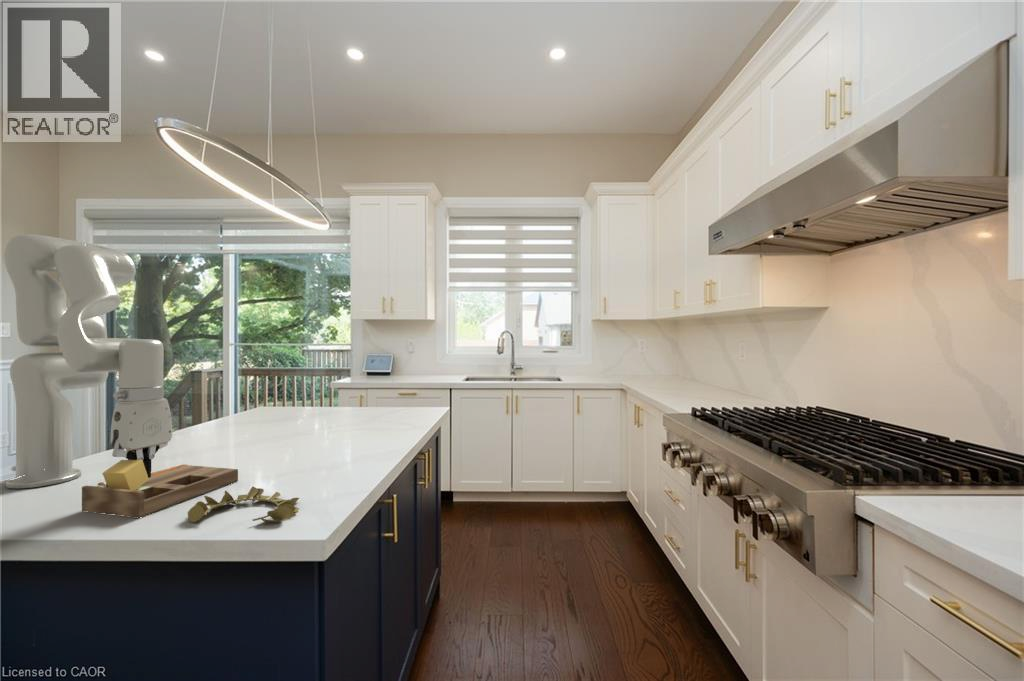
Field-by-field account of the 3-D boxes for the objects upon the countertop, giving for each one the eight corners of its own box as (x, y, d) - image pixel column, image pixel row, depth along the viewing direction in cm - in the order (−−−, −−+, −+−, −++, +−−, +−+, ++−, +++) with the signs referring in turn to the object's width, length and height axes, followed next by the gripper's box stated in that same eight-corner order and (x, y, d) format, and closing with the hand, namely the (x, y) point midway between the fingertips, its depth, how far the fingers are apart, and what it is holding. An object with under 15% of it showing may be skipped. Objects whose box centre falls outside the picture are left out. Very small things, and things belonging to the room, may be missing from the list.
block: (110, 493, 90) (102, 472, 88) (128, 479, 94) (121, 459, 92) (131, 493, 89) (124, 473, 88) (149, 479, 94) (142, 460, 92)
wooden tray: (81, 511, 87) (81, 486, 87) (188, 477, 110) (188, 457, 110) (139, 518, 84) (139, 492, 84) (237, 481, 106) (238, 461, 106)
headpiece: (284, 535, 81) (321, 507, 96) (286, 512, 81) (323, 488, 96) (173, 524, 81) (228, 498, 96) (175, 502, 81) (230, 479, 96)
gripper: (117, 400, 87) (116, 491, 87) (187, 391, 102) (187, 469, 101) (88, 399, 89) (88, 488, 89) (162, 390, 103) (162, 467, 103)
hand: (141, 478), depth 95 cm, fingers closed
